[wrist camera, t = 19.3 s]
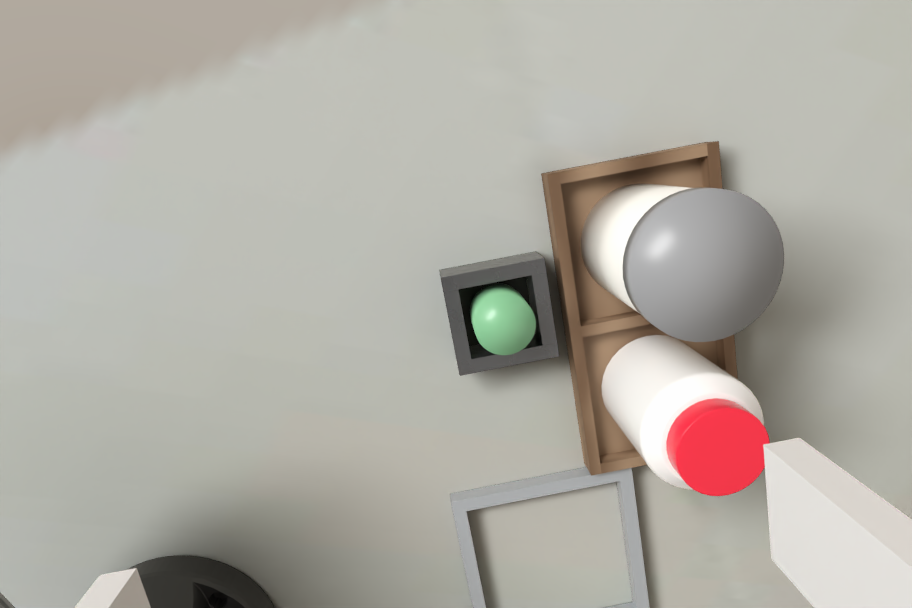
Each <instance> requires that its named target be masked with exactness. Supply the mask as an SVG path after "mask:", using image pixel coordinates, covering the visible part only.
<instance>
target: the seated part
mask: <svg viewBox="0 0 912 608" xmlns="http://www.w3.org/2000/svg"><path fill="white" fill-rule="evenodd" d="M580 246H581V255H582V259H583V262H584V265H585V267H586V269H587V271H588V273H589V274H590V276H591V277H592V278H593V279H594V281H595V282H596V283H597V284H599V285H600V286H601V287H602V288H604V289H605V290H607V291H608V292H609V293H611V294H612V295H614V296H615V297H617V298H618V299H620V300H621V301H622V302H624V303H625V304H627V305H628V306H630V307H631V308H632V309H634V310H635V311H637V312H638V313H640V315H641V316H642V317H643V318H645V319H646V320H647V321H648V322H650V323H651V324H652V325H654V326H655V327H657V328H658V329H659V330H661V331H663V332H664V333H666V334H668V335H670V336H672V337H675V338H677V339H681V340H685V341H691V342H709V341H716V340H719V339H723V338H726V337H729V336H731V335H734V334H736V333H737V332H739V331H741V330H743V329H744V328H746V327H747V326H749V325H750V324H751V323H752V322H754V321H755V320H756V319H757V318H758V317H759V316H760V315H761V314H762V313H763V312H764V310H765V309H766V308H767V306H768V305H769V304H770V302H771V301H772V299H773V297H774V295H775V293H776V291H777V289H778V286H779V284H780V281H781V277H782V273H783V266H784V249H783V242H782V238H781V235H780V232H779V230H778V227H777V225H776V223H775V222H774V220H773V218H772V217H771V215H770V214H769V213H768V212H767V211H766V209H765V208H764V207H762V206H761V205H760V204H759V203H758V202H756V201H755V200H753V199H752V198H750V197H748V196H746V195H744V194H742V193H739V192H736V191H732V190H726V189H718V188H687V187H677V186H666V185H656V184H645V183H637V184H629V185H626V186H622V187H620V188H617V189H615V190H613V191H611V192H610V193H608V194H607V195H605V196H604V197H603V198H602V199H601V200H599V201H598V202H597V203H596V205H595V206H594V207H593V208H592V210H591V211H590V213H589V215H588V216H587V219H586V221H585V223H584V226H583V229H582V234H581V244H580Z"/></svg>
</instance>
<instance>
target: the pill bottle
mask: <svg viewBox="0 0 912 608" xmlns="http://www.w3.org/2000/svg"><path fill="white" fill-rule="evenodd" d="M601 389H602V398H603V402H604V405H605V407H606V409H607V411H608V413H609V414H610V416H611V417H612V418H613V420H614V421H615V422H616V424H617V425H618V426H619V428H620V429H621V430H622V432H623V433H624V434H625V436H626V437H627V438H628V440H629V441H630V442H631V444H632V445H633V446H634V448H635V449H636V450H637V452H638V453H639V454H640V456H641V457H642V458H643V460H644V461H645V462H646V464H647V465H648V466H649V468H650V469H651V470H652V471H653V472H654V474H655V475H657V476H658V477H659V478H661V479H662V480H663V481H665V482H667V483H669V484H671V485H673V486H675V487H679V488H683V489H689V490H695V491H698V492H700V493H702V494H706V495H710V496H723V495H729V494H732V493H736V492H738V491H740V490H742V489H744V488H746V487H747V486H748V485H750V484H751V483H752V482H753V481H754V480H755V479H756V478H757V477H758V476H759V475H760V474H761V472H762V471H763V469H764V467H765V462H764V448H763V445H764V444H769V443H770V441H769V436H768V433H767V431H766V429H765V427H764V418H763V413H762V409H761V407H760V404H759V402H758V400H757V398H756V397H755V395H754V394H753V393H752V391H751V390H750V389H749V388H748V387H747V386H745V385H744V384H743V383H742V382H741V381H739V380H738V379H736V378H735V377H733V376H732V375H731V374H729V373H728V372H726V371H725V370H723V369H722V368H720V367H719V366H717V365H716V364H715V363H713V362H712V361H710V360H709V359H707V358H706V357H704V356H703V355H701V354H700V353H699V352H697V351H696V350H694V349H693V348H691V347H690V346H688V345H687V344H686V343H684V342H682V341H680V340H678V339H676V338H673V337H670V336H665V335H650V336H644V337H641V338H638V339H635V340H633V341H631V342H629V343H627V344H626V345H625V346H623V347H622V348H621V349H620V350H618V352H617V353H616V354H615V355H614V356H613V357H612V358H611V360H610V362H609V363H608V365H607V367H606V369H605V372H604V374H603V379H602V385H601Z"/></svg>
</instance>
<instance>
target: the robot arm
mask: <svg viewBox="0 0 912 608" xmlns="http://www.w3.org/2000/svg"><path fill="white" fill-rule="evenodd" d="M763 448H764V462H765V476H766V490H767V504H768V518H769V532H770V546H771V559H772V560H773V561H774V563H775V564H776V565H777V566H778V567H779V568H780V569H781V570H782V572H783V573H784V574H785V575H786V576H787V577H788V578H789V580H790V581H791V582H792V583H793V584H794V585H795V586H796V587H797V589H798V590H799V591H800V592H801V593H802V594H803V595H804V597H805V598H806V599H807V600H808V601H809V602H810V603H811V605H812V606H813V607H814V608H912V519H910V518H909V517H908V516H906V515H905V514H903V513H902V512H901V511H899V510H898V509H897V508H895V507H894V506H892V505H891V504H890V503H888V502H887V501H886V500H884V499H883V498H881V497H880V496H879V495H877V494H876V493H875V492H873V491H872V490H871V489H869V488H868V487H866V486H865V485H864V484H862V483H861V482H860V481H858V480H857V479H855V478H854V477H853V476H851V475H850V474H849V473H847V472H846V471H845V470H843V469H842V468H840V467H839V466H838V465H836V464H835V463H834V462H832V461H831V460H829V459H828V458H827V457H825V456H824V455H823V454H821V453H820V452H818V451H817V450H816V449H814V448H813V447H812V446H810V445H809V444H808V443H806V442H805V441H803V440H802V439H801V438H795V439H789V440H784V441H779V442H774V443H769V444H764V445H763ZM0 608H15V607H14V606H13V605H12V604H11V603H10V602H9V601H8V600H7V599H6V598H5V597H4V596H3V595H2V594H1V593H0ZM74 608H274V606H273V604H272V602H271V601H270V599H269V598H268V596H267V595H266V594H265V593H264V591H263V590H262V589H261V588H260V587H259V586H258V585H257V584H256V583H255V582H253V581H252V580H251V579H250V578H248V577H247V576H246V575H244V574H243V573H241V572H239V571H238V570H236V569H234V568H232V567H230V566H228V565H225V564H223V563H220V562H217V561H214V560H211V559H206V558H201V557H194V556H168V557H161V558H156V559H152V560H148V561H145V562H143V563H140V564H137V565H135V566H133V567H131V568H129V569H128V570H123V571H118V572H113V573H108V574H103V575H99V577H98V578H97V579H96V580H95V582H94V583H93V584H92V586H91V587H90V588H89V589H88V591H87V592H86V593H85V595H84V596H83V597H82V598H81V600H80V601H79V602H78V604H77V605H76V606H75V607H74Z"/></svg>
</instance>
